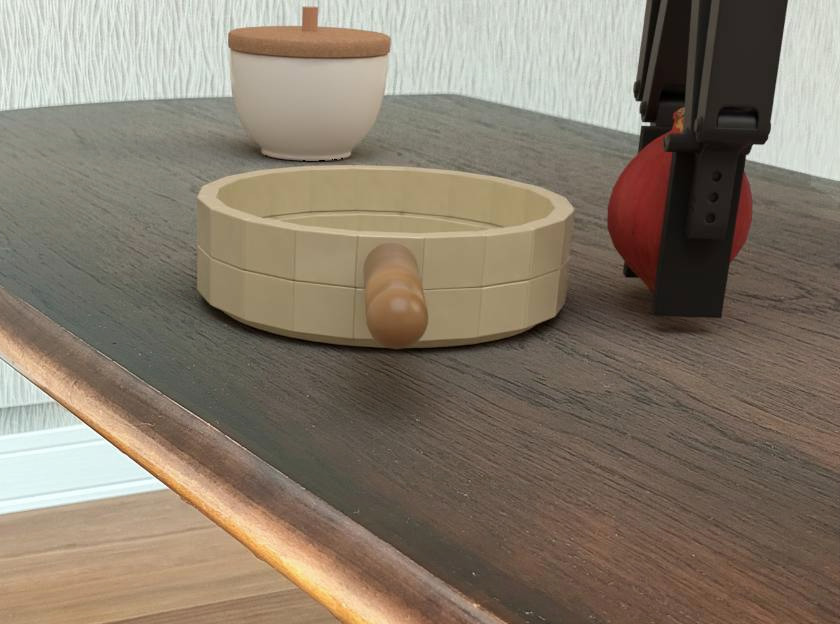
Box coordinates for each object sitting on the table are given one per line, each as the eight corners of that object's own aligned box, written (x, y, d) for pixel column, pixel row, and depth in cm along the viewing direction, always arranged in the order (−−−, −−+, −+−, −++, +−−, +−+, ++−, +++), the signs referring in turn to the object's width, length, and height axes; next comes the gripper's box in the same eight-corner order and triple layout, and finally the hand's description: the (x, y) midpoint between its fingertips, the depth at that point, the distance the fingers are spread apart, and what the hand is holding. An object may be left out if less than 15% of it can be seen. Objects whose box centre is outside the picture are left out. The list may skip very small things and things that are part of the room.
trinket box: (258, 137, 104) (260, -2, 101) (402, 148, 101) (410, 6, 98) (203, 159, 95) (203, 7, 91) (360, 172, 92) (367, 16, 88)
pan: (537, 265, 70) (546, 170, 68) (588, 360, 55) (601, 243, 54) (213, 255, 70) (214, 160, 68) (181, 346, 56) (180, 229, 54)
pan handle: (414, 291, 54) (418, 238, 53) (427, 357, 46) (432, 296, 46) (361, 289, 54) (364, 236, 53) (365, 355, 46) (368, 294, 46)
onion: (685, 280, 66) (711, 97, 62) (765, 312, 61) (798, 116, 58) (573, 287, 64) (595, 99, 60) (647, 321, 59) (675, 118, 56)
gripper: (608, -301, 61) (552, 243, 71) (713, -379, 44) (621, 354, 54) (786, -295, 61) (706, 249, 71) (960, -371, 44) (824, 361, 53)
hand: (669, 293), depth 62 cm, fingers closed on onion, 6 cm apart
